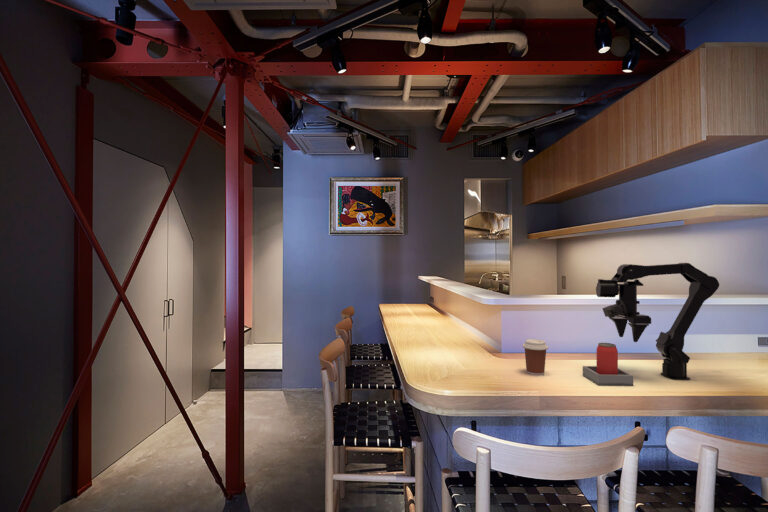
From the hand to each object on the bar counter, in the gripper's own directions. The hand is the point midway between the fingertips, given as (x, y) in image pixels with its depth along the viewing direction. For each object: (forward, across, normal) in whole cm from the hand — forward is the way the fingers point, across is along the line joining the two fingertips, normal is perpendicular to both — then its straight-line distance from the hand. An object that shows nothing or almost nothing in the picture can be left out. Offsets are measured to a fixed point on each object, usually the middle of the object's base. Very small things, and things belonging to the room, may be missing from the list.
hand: (628, 339), depth 148 cm
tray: (+13, +8, -12) cm, 19 cm away
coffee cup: (+13, -1, -34) cm, 37 cm away
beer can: (+12, +8, -12) cm, 19 cm away
